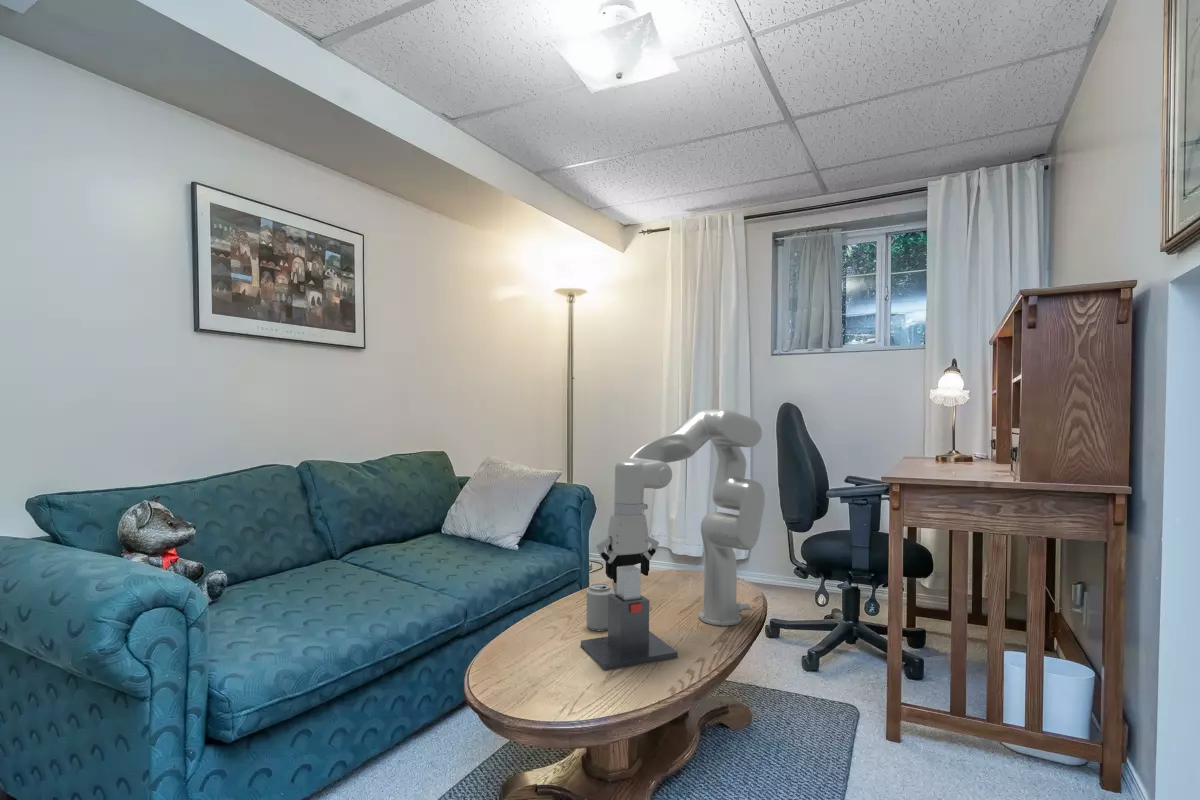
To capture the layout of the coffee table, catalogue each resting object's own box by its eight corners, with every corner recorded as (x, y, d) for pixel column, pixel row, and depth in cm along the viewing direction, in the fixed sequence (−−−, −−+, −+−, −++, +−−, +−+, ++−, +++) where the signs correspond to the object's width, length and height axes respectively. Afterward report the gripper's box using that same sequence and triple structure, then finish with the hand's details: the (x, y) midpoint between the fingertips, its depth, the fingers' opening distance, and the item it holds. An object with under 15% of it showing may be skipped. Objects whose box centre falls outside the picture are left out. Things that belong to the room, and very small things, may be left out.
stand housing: (648, 635, 168) (648, 584, 168) (677, 658, 153) (678, 602, 153) (580, 646, 160) (581, 592, 160) (604, 670, 145) (605, 611, 145)
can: (610, 633, 169) (610, 589, 170) (583, 630, 171) (584, 588, 171) (614, 623, 177) (615, 582, 177) (589, 621, 178) (589, 580, 178)
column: (632, 639, 160) (633, 565, 160) (640, 646, 155) (641, 569, 155) (615, 642, 158) (616, 566, 158) (623, 649, 153) (624, 571, 153)
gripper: (651, 505, 164) (650, 569, 163) (592, 508, 157) (590, 575, 156) (665, 510, 157) (664, 577, 156) (603, 513, 150) (602, 583, 150)
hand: (627, 576), depth 156 cm, fingers open, 9 cm apart
